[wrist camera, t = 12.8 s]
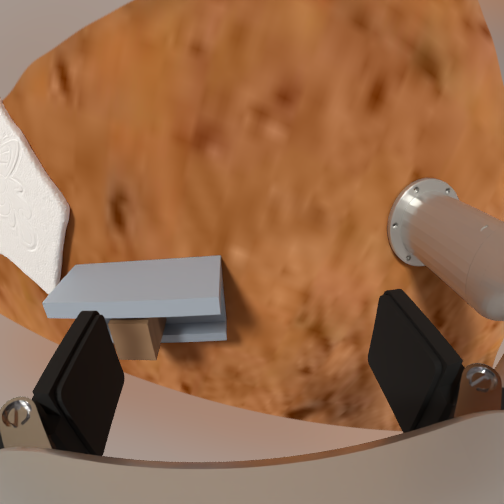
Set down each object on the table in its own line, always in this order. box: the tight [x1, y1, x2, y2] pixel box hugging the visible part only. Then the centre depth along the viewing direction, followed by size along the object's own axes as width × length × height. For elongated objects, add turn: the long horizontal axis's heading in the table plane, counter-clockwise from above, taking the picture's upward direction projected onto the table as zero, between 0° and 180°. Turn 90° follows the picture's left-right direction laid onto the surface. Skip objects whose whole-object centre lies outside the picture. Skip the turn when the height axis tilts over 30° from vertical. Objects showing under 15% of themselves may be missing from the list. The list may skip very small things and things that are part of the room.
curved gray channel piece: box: [42, 255, 227, 343], centre depth 36 cm, size 20×10×10 cm, turn 92°
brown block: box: [108, 317, 167, 360], centre depth 36 cm, size 4×6×8 cm
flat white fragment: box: [0, 97, 70, 294], centre depth 33 cm, size 21×4×25 cm
